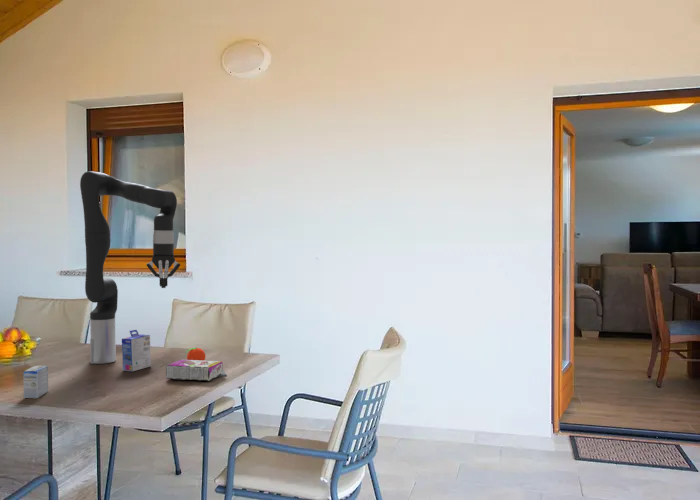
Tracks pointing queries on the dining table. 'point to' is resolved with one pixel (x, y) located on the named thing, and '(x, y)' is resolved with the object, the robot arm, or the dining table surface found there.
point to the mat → (218, 376)
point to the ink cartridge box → (136, 352)
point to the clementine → (196, 354)
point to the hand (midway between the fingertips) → (163, 287)
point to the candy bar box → (194, 370)
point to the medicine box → (35, 381)
